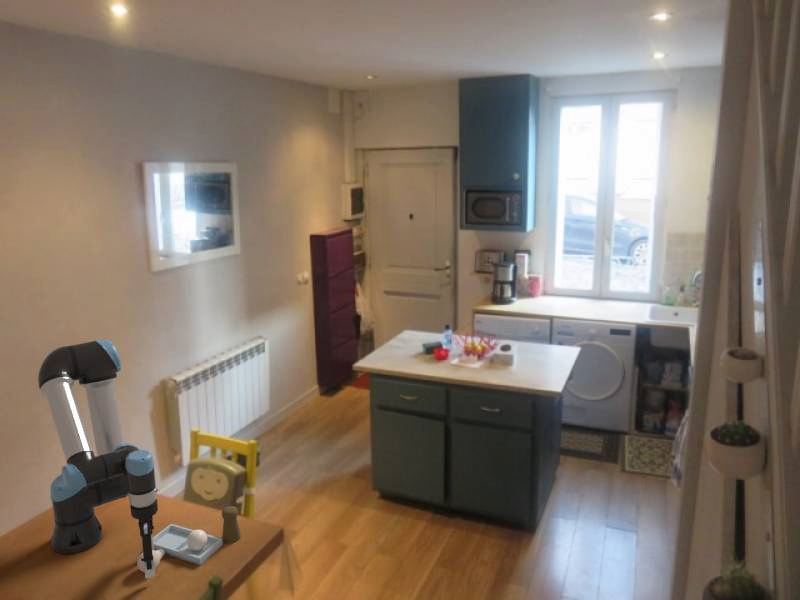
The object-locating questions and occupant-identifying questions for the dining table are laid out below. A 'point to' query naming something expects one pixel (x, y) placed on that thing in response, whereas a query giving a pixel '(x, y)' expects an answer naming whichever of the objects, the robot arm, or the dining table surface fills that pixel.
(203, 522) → the dining table surface
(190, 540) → the white ball
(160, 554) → the light bulb
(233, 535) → the pepper mill
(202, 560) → the tray
